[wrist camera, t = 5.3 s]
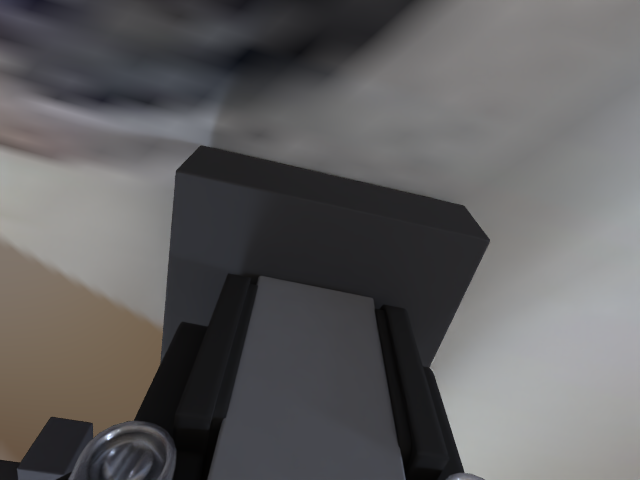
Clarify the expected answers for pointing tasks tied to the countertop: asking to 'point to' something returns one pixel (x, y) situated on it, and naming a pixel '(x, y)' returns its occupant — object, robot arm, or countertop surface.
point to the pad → (312, 306)
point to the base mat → (51, 451)
